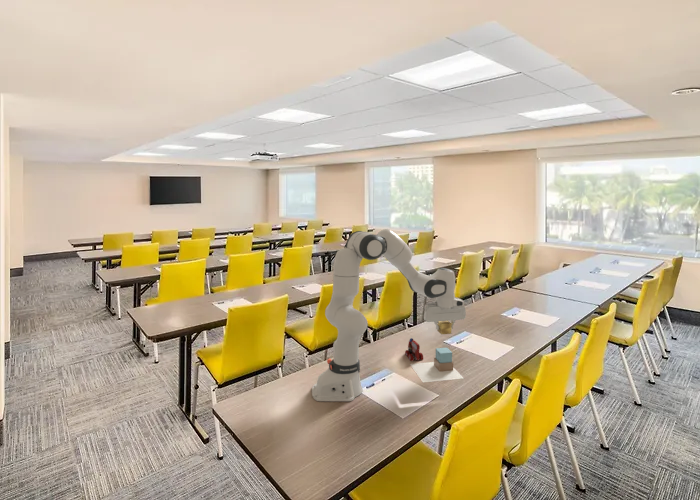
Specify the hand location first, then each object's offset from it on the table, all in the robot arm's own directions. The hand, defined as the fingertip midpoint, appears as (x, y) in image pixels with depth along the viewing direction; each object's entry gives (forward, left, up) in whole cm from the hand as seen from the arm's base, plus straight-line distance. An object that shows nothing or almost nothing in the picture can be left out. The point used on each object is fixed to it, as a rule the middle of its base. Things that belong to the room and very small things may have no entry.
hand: (444, 329), depth 187 cm
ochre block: (0, 0, -2) cm, 2 cm away
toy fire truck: (-10, +15, -21) cm, 28 cm away
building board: (-5, -3, -21) cm, 22 cm away
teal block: (0, 0, -16) cm, 16 cm away
